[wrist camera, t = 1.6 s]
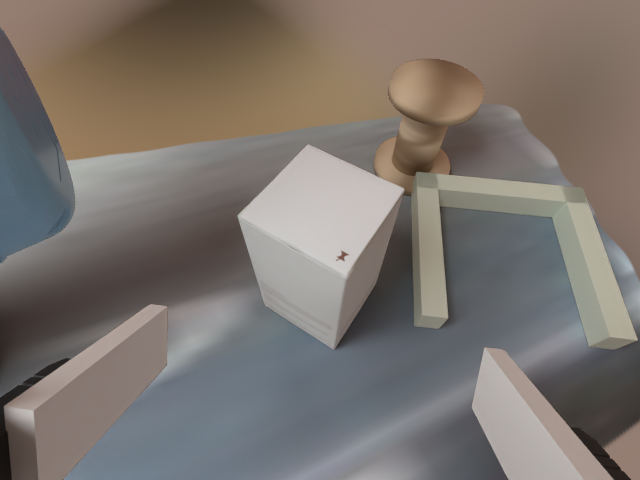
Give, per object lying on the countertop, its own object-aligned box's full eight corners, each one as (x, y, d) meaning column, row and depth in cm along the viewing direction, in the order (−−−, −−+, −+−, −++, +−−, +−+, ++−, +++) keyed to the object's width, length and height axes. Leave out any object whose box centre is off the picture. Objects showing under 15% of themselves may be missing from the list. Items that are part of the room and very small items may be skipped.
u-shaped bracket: (414, 326, 30) (422, 315, 28) (410, 188, 38) (416, 171, 36) (614, 349, 29) (637, 340, 27) (567, 203, 37) (582, 187, 35)
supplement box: (378, 282, 32) (411, 188, 21) (333, 353, 29) (346, 282, 18) (309, 243, 34) (308, 139, 23) (260, 304, 31) (232, 215, 20)
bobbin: (372, 191, 38) (389, 111, 29) (374, 139, 42) (390, 55, 33) (450, 199, 37) (490, 120, 29) (444, 145, 41) (478, 62, 33)
